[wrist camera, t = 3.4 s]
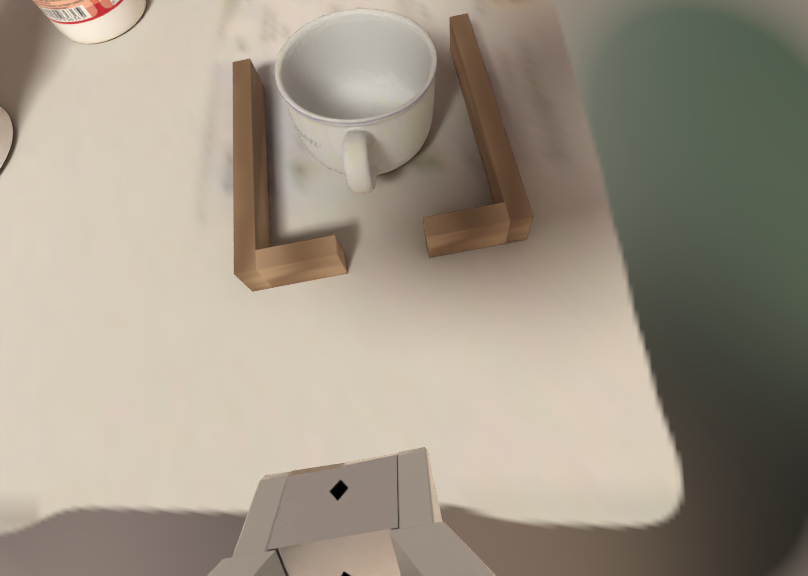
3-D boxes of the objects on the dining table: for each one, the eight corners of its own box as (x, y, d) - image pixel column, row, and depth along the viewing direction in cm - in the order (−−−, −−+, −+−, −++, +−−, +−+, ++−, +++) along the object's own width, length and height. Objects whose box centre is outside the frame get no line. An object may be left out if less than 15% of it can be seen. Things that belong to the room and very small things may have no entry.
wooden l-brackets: (252, 291, 33) (234, 274, 30) (247, 90, 41) (232, 62, 38) (526, 239, 32) (533, 216, 29) (466, 45, 40) (467, 13, 37)
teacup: (325, 89, 40) (295, 1, 33) (447, 93, 38) (445, 1, 31) (285, 225, 35) (240, 157, 27) (425, 237, 33) (416, 168, 26)
